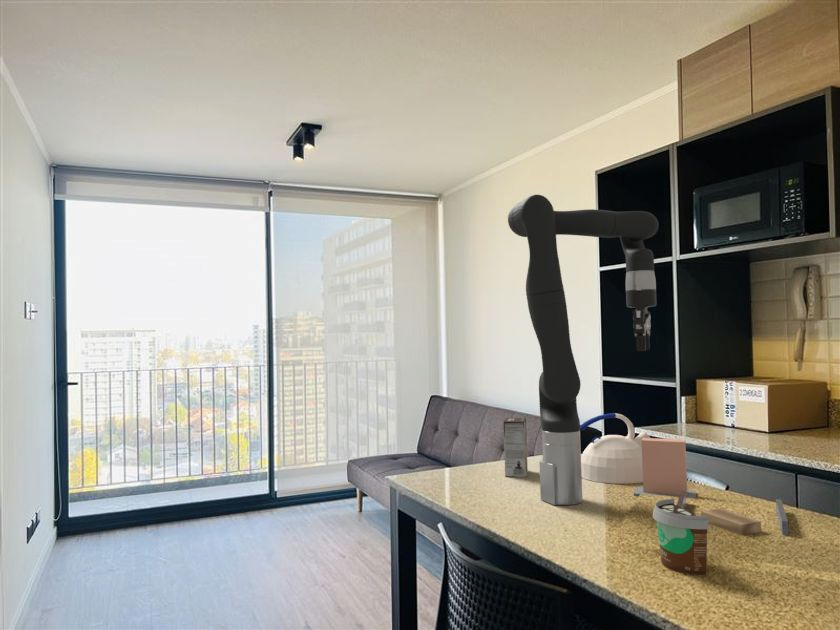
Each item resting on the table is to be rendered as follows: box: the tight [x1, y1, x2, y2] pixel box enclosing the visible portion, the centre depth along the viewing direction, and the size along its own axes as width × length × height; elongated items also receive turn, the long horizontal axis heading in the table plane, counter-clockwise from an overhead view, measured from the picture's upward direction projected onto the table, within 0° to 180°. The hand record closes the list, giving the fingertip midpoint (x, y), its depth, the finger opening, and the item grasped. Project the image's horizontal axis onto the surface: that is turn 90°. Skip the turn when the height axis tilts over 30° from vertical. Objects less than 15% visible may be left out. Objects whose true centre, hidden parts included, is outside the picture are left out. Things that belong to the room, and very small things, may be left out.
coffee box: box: [502, 417, 528, 478], centre depth 185 cm, size 9×6×16 cm
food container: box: [652, 498, 710, 576], centre depth 108 cm, size 12×6×10 cm, turn 5°
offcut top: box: [701, 508, 762, 536], centre depth 125 cm, size 5×10×2 cm, turn 20°
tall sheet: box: [641, 437, 688, 496], centre depth 156 cm, size 4×10×13 cm, turn 64°
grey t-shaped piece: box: [633, 485, 697, 499], centre depth 156 cm, size 8×14×1 cm, turn 63°
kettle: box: [580, 412, 651, 485], centre depth 179 cm, size 20×21×18 cm
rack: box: [676, 491, 790, 537], centre depth 131 cm, size 18×20×4 cm
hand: (643, 350), depth 163 cm, fingers open, 8 cm apart
